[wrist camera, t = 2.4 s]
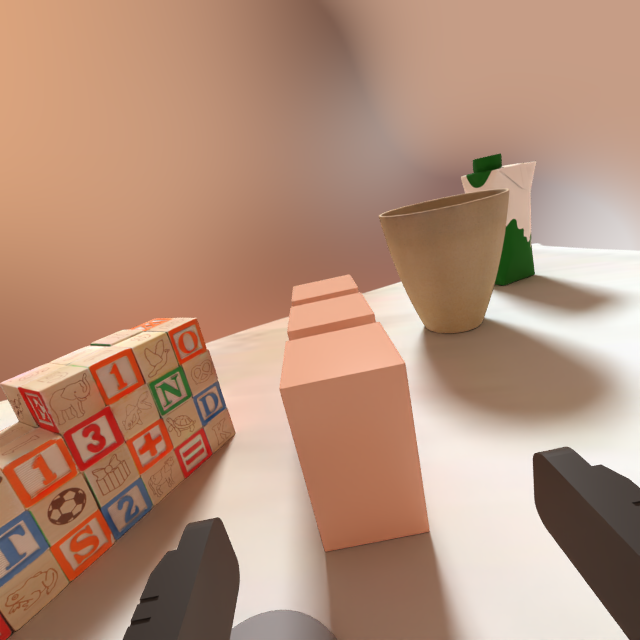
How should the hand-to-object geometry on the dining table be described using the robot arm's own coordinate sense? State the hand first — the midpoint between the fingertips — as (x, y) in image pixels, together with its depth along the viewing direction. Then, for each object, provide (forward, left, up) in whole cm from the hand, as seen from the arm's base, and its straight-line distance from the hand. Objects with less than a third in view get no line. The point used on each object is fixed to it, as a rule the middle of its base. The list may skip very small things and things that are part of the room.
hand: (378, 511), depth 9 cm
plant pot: (+16, +37, -12) cm, 42 cm away
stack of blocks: (-20, +15, -12) cm, 27 cm away
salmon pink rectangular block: (0, +11, -11) cm, 16 cm away
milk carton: (+31, +52, -12) cm, 62 cm away
